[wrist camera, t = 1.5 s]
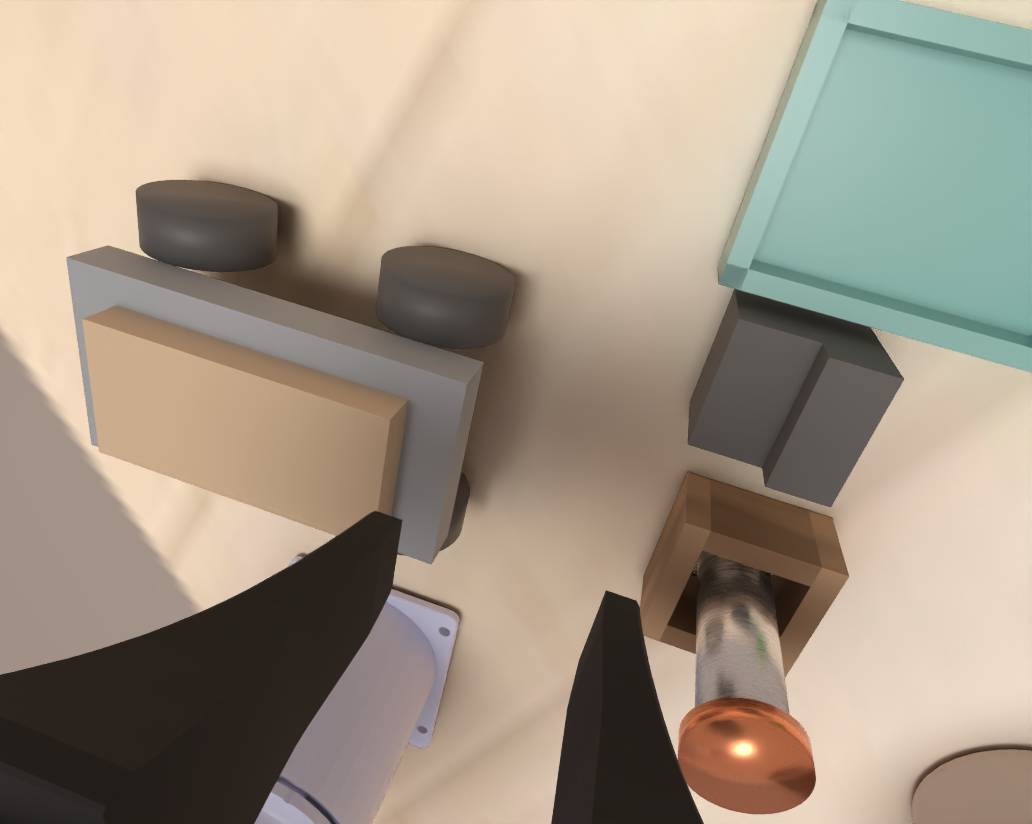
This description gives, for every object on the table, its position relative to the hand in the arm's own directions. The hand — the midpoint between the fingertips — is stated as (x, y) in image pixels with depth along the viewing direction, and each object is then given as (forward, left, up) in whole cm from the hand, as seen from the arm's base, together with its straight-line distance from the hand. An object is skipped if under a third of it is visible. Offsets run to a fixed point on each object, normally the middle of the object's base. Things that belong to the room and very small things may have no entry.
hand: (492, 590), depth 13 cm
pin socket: (-4, -7, -10) cm, 13 cm away
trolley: (-1, +9, -10) cm, 14 cm away
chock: (+3, -6, -11) cm, 12 cm away
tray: (+9, -7, -10) cm, 15 cm away
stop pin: (-4, -7, -10) cm, 13 cm away
